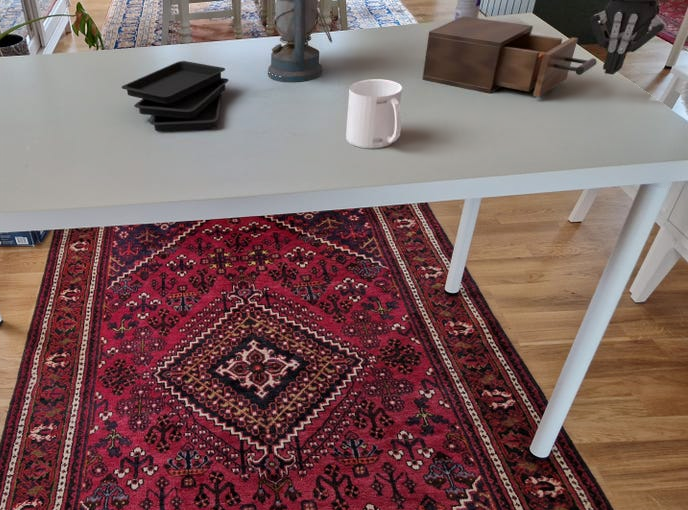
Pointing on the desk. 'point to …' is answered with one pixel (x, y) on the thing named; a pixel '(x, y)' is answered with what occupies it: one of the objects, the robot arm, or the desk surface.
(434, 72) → the cabinet
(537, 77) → the block
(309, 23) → the lantern
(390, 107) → the mug
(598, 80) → the desk surface
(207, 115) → the tray
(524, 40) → the drawer
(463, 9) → the beverage can
